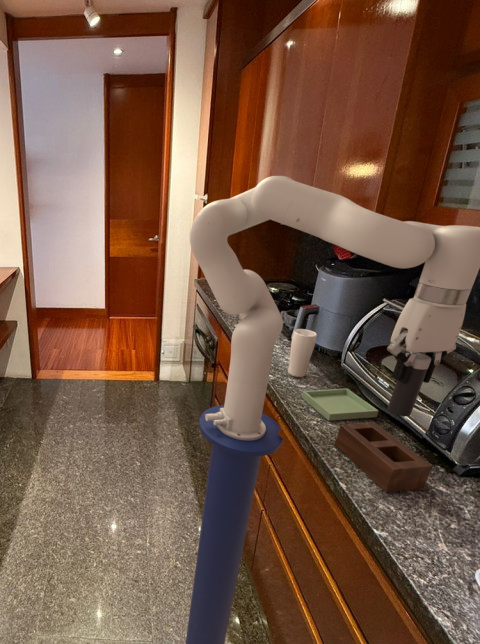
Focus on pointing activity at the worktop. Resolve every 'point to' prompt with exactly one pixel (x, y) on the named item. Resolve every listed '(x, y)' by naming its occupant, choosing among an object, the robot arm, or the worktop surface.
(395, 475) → the holder
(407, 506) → the worktop surface
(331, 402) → the tray
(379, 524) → the worktop surface
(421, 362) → the tool handle
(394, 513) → the worktop surface
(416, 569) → the worktop surface
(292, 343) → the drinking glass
